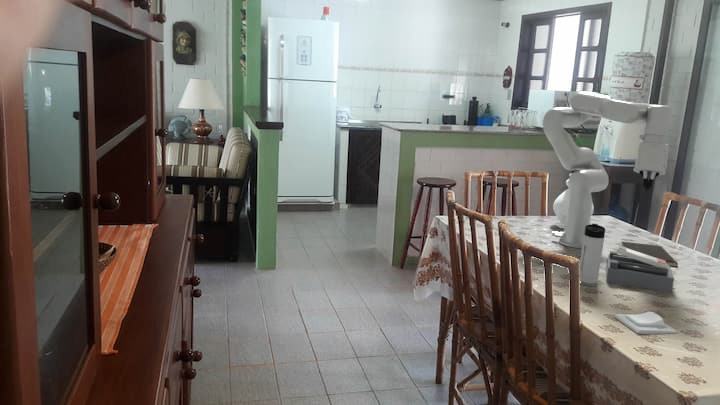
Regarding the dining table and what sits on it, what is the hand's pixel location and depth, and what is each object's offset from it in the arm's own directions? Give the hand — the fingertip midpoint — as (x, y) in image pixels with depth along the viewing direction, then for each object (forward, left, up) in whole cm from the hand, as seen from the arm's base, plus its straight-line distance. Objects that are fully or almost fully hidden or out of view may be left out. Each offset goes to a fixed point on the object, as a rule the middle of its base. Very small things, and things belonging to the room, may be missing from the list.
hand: (646, 189), depth 211 cm
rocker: (0, -20, -21) cm, 29 cm away
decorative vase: (-25, +47, -29) cm, 61 cm away
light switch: (0, -62, -30) cm, 69 cm away
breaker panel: (0, -20, -29) cm, 35 cm away
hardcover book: (+6, +16, -30) cm, 34 cm away
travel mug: (-16, -33, -29) cm, 47 cm away
